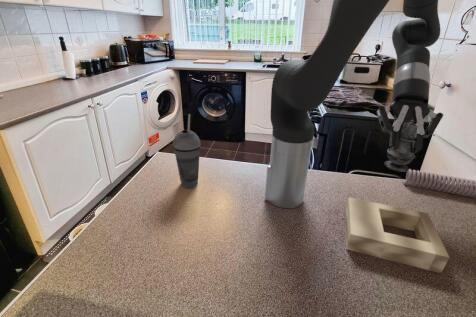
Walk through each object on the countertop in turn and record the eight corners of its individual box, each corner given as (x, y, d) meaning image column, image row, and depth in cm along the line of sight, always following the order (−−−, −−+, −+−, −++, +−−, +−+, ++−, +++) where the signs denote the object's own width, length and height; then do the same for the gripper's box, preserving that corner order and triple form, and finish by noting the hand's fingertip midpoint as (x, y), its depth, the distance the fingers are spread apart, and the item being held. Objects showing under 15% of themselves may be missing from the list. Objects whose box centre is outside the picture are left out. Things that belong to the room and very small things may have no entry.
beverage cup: (181, 175, 76) (175, 108, 67) (205, 178, 75) (203, 110, 66) (172, 189, 69) (164, 117, 60) (198, 192, 68) (194, 119, 59)
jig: (346, 249, 52) (350, 233, 50) (345, 210, 63) (348, 197, 61) (440, 273, 47) (449, 257, 45) (421, 227, 58) (428, 213, 56)
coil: (408, 174, 71) (489, 188, 66) (406, 165, 75) (482, 178, 69) (403, 187, 74) (480, 202, 68) (401, 178, 78) (474, 191, 72)
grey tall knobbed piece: (414, 173, 60) (433, 124, 55) (387, 170, 61) (403, 121, 56) (404, 162, 65) (421, 116, 60) (380, 159, 66) (394, 114, 61)
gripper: (383, 74, 63) (375, 138, 58) (452, 80, 59) (450, 149, 54) (375, 92, 69) (367, 150, 65) (436, 98, 65) (432, 161, 61)
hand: (405, 149), depth 59 cm, fingers closed on grey tall knobbed piece, 3 cm apart
